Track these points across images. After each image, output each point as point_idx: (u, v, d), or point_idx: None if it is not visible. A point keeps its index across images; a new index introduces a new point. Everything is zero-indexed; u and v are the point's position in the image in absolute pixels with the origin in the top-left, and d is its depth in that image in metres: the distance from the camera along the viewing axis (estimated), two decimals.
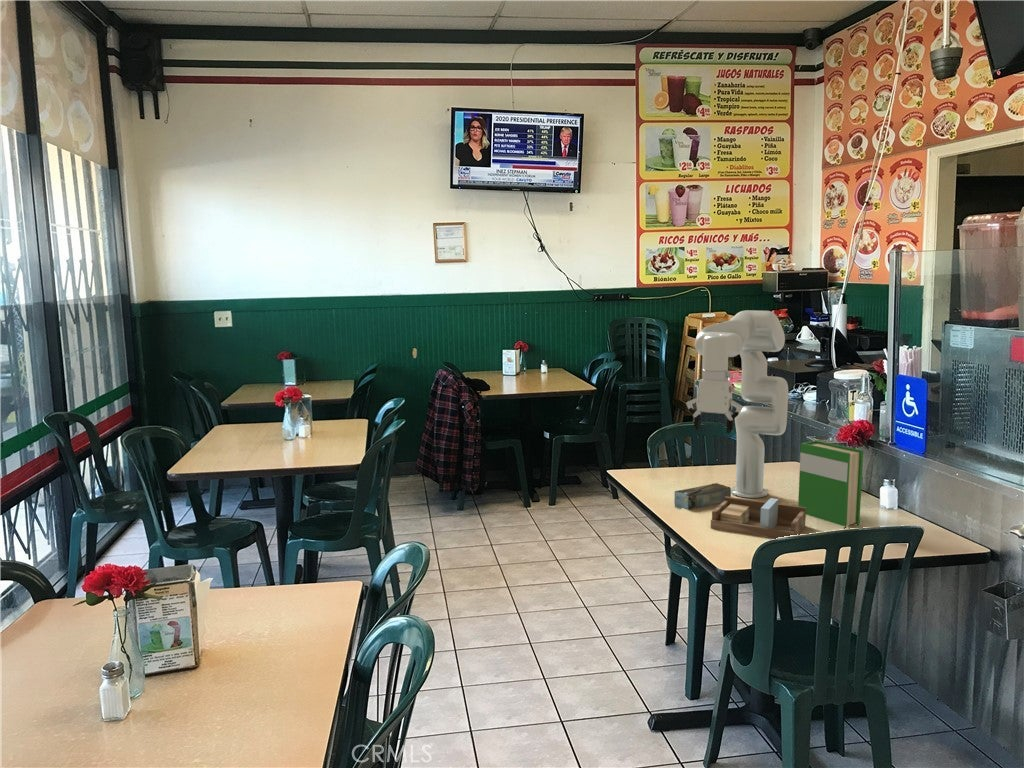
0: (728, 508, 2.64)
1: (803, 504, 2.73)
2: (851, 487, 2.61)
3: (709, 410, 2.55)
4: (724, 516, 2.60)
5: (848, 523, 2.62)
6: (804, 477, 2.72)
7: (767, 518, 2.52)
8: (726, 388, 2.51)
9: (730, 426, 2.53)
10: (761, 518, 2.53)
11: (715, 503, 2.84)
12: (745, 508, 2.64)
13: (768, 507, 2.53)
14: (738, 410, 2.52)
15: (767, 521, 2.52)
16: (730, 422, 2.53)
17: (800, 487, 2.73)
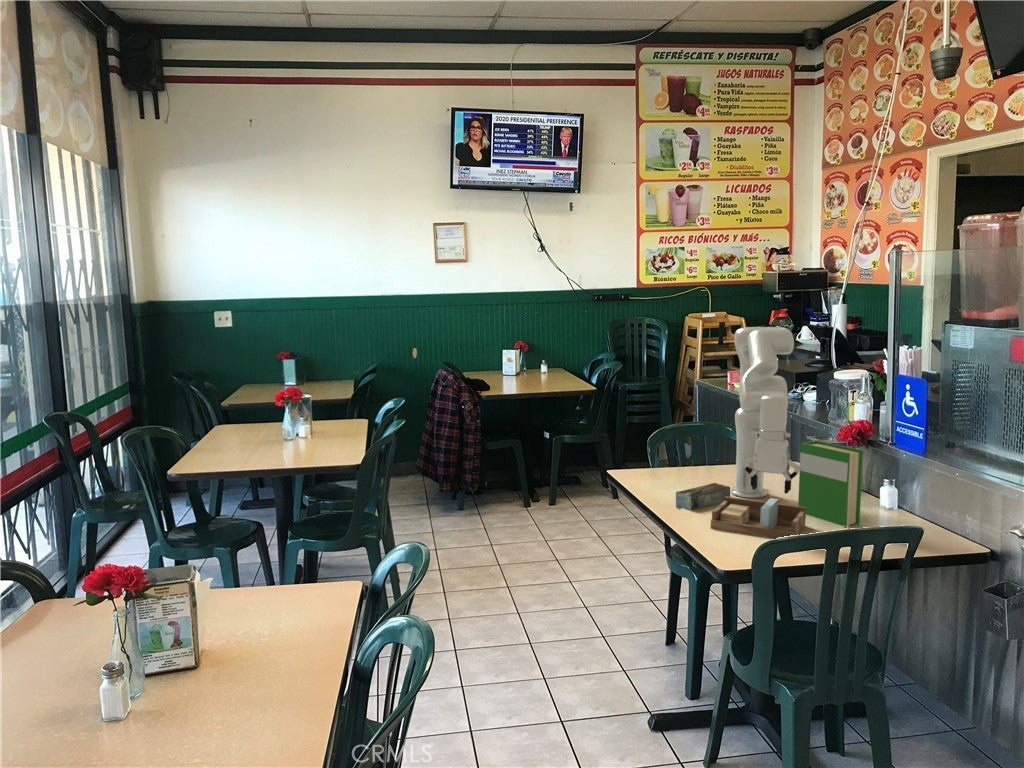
0: (728, 508, 2.64)
1: (803, 504, 2.73)
2: (851, 487, 2.61)
3: (767, 470, 2.54)
4: (724, 516, 2.60)
5: (848, 523, 2.62)
6: (803, 477, 2.72)
7: (767, 518, 2.52)
8: (784, 448, 2.51)
9: (788, 486, 2.53)
10: (761, 518, 2.53)
11: (716, 503, 2.84)
12: (745, 508, 2.64)
13: (768, 507, 2.53)
14: (796, 470, 2.51)
15: (767, 521, 2.52)
16: (788, 482, 2.52)
17: (800, 487, 2.73)
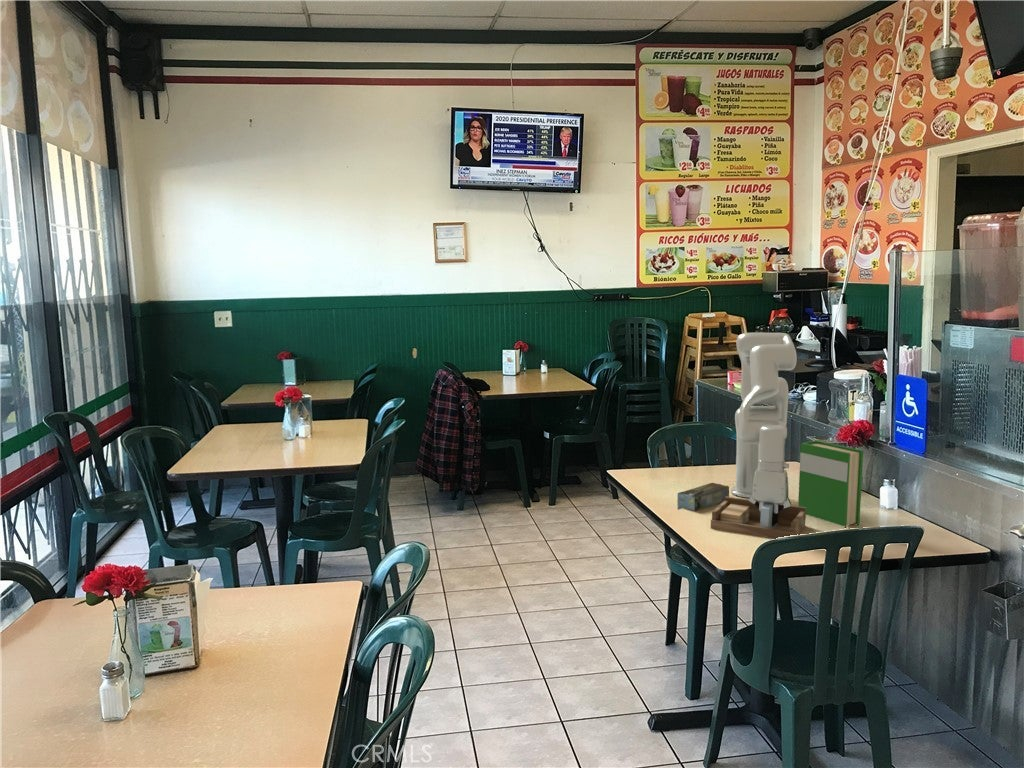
0: (728, 508, 2.64)
1: (803, 504, 2.73)
2: (851, 487, 2.61)
3: (765, 500, 2.56)
4: (724, 516, 2.60)
5: (848, 523, 2.62)
6: (804, 477, 2.72)
7: (767, 518, 2.52)
8: (783, 479, 2.52)
9: (775, 519, 2.56)
10: (761, 518, 2.53)
11: (716, 503, 2.84)
12: (745, 508, 2.64)
13: (768, 507, 2.53)
14: (785, 505, 2.54)
15: (767, 521, 2.52)
16: (775, 515, 2.56)
17: (800, 487, 2.73)
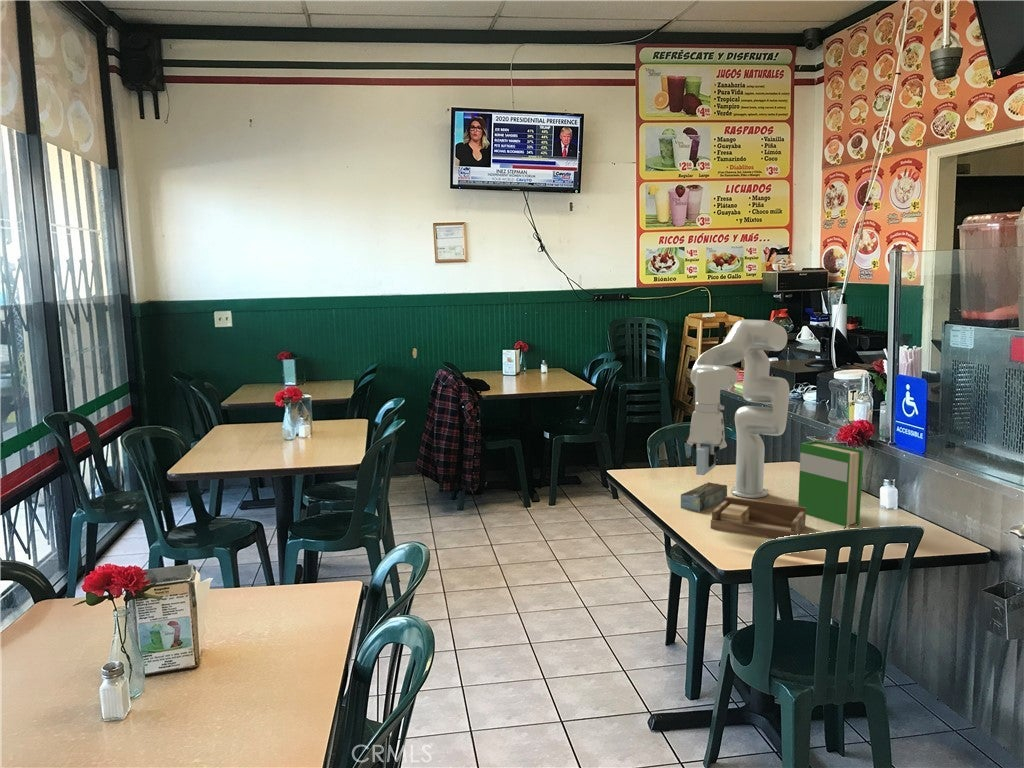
0: (728, 508, 2.64)
1: (803, 504, 2.73)
2: (851, 487, 2.61)
3: (702, 441, 2.62)
4: (724, 516, 2.60)
5: (848, 523, 2.62)
6: (803, 477, 2.72)
7: (703, 459, 2.59)
8: (718, 420, 2.59)
9: (712, 460, 2.63)
10: (697, 459, 2.60)
11: (717, 502, 2.85)
12: (745, 508, 2.64)
13: (704, 448, 2.60)
14: (721, 446, 2.61)
15: (703, 462, 2.59)
16: (712, 456, 2.63)
17: (800, 487, 2.73)
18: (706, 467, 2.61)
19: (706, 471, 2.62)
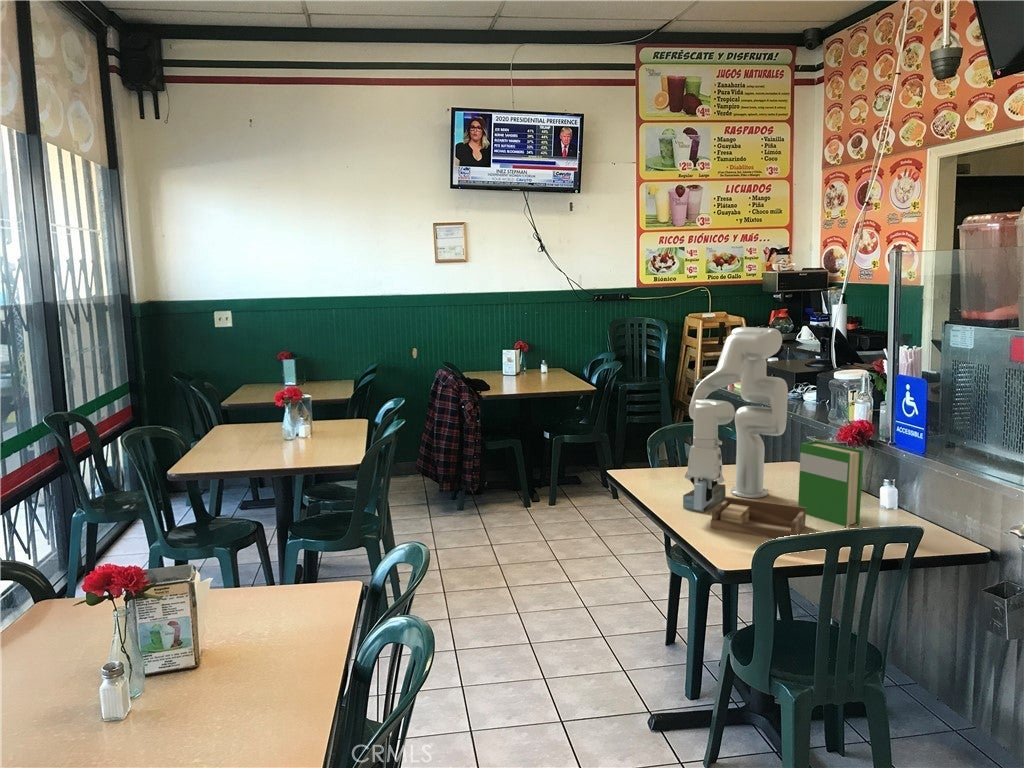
0: (728, 508, 2.64)
1: (803, 504, 2.73)
2: (851, 487, 2.61)
3: (700, 476, 2.64)
4: (724, 516, 2.60)
5: (848, 523, 2.62)
6: (804, 477, 2.72)
7: (700, 494, 2.61)
8: (716, 455, 2.61)
9: (709, 494, 2.65)
10: (695, 494, 2.62)
11: (718, 502, 2.85)
12: (745, 508, 2.64)
13: (701, 483, 2.62)
14: (718, 481, 2.63)
15: (700, 497, 2.61)
16: (709, 490, 2.65)
17: (800, 487, 2.73)
18: (703, 502, 2.63)
19: (703, 506, 2.63)
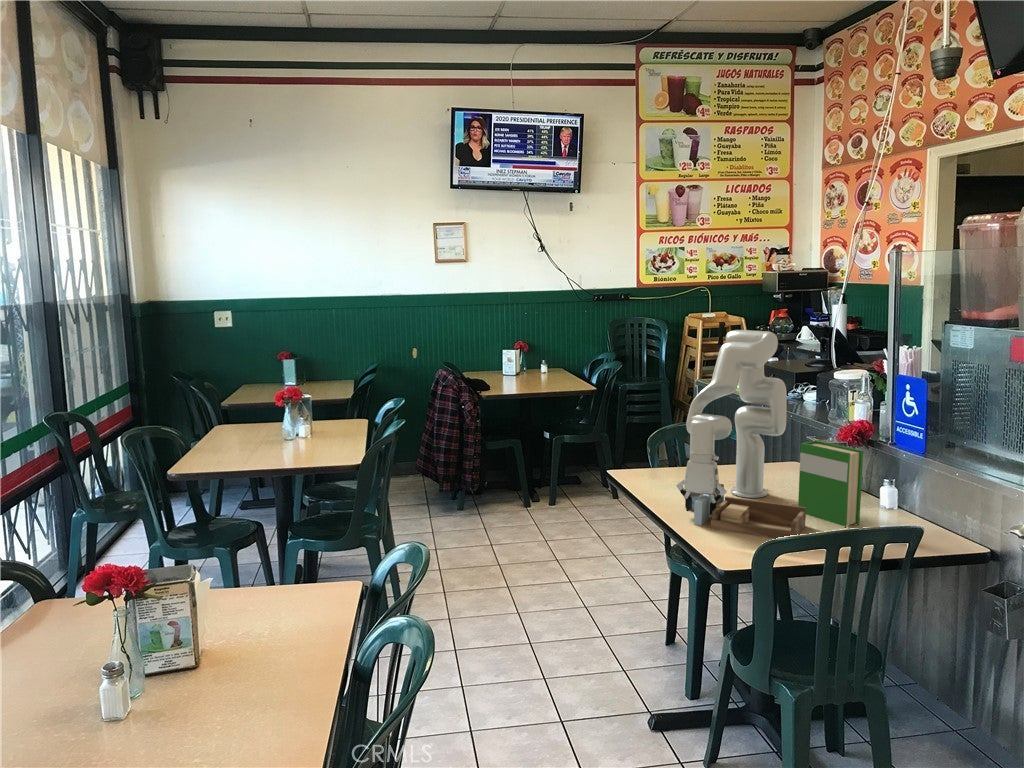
0: (728, 508, 2.64)
1: (803, 504, 2.73)
2: (851, 487, 2.61)
3: (696, 491, 2.66)
4: (724, 516, 2.60)
5: (848, 523, 2.62)
6: (803, 477, 2.72)
7: (700, 511, 2.62)
8: (712, 471, 2.62)
9: (713, 508, 2.65)
10: (695, 511, 2.63)
11: (718, 502, 2.85)
12: (745, 508, 2.64)
13: (701, 500, 2.63)
14: (721, 494, 2.63)
15: (700, 514, 2.62)
16: (713, 504, 2.65)
17: (800, 487, 2.73)
18: (704, 519, 2.64)
19: None
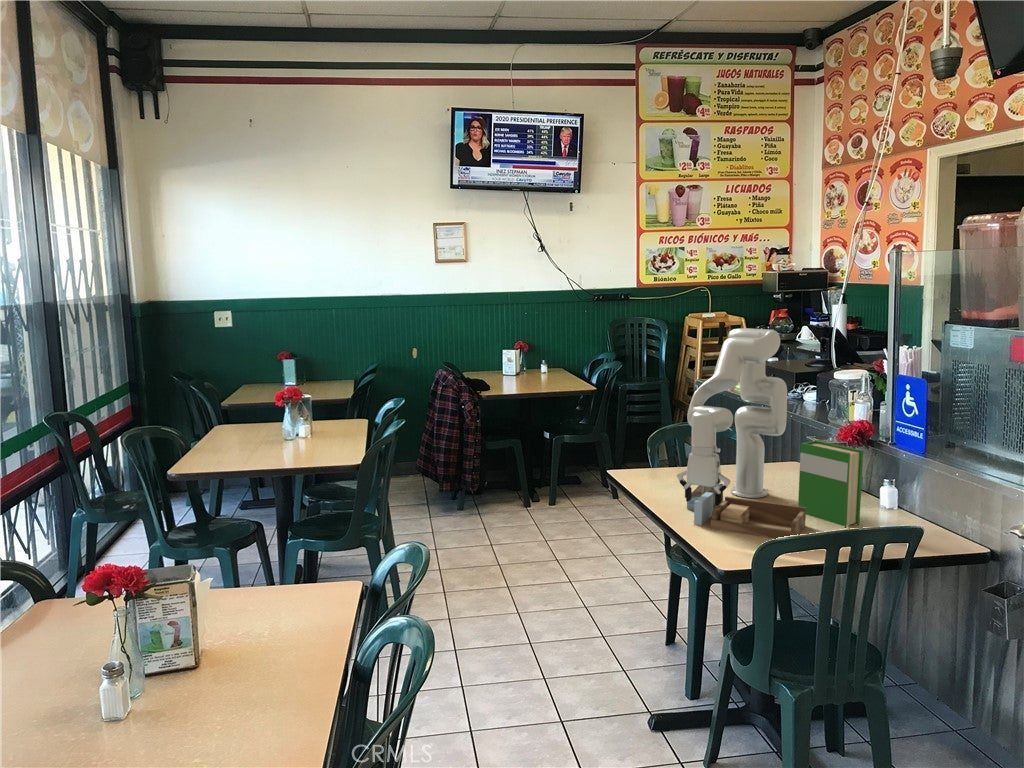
0: (728, 508, 2.64)
1: (803, 504, 2.73)
2: (851, 487, 2.61)
3: (698, 483, 2.66)
4: (724, 516, 2.60)
5: (848, 523, 2.62)
6: (804, 477, 2.72)
7: (700, 511, 2.62)
8: (714, 463, 2.62)
9: (718, 499, 2.64)
10: (695, 511, 2.63)
11: None
12: (745, 508, 2.64)
13: (701, 500, 2.63)
14: (726, 484, 2.62)
15: (700, 514, 2.62)
16: (718, 495, 2.64)
17: (800, 487, 2.73)
18: (704, 519, 2.64)
19: None
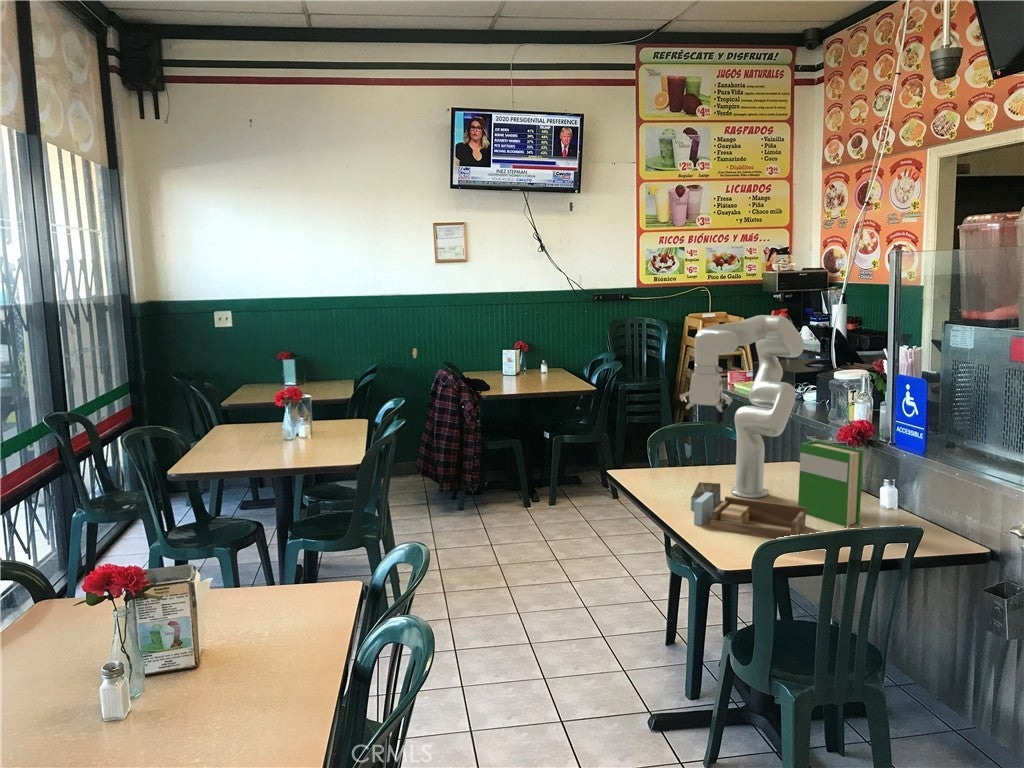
0: (728, 508, 2.64)
1: (803, 504, 2.73)
2: (851, 487, 2.61)
3: (701, 402, 2.73)
4: (724, 516, 2.60)
5: (848, 523, 2.62)
6: (803, 477, 2.72)
7: (700, 511, 2.62)
8: (716, 382, 2.70)
9: (720, 417, 2.72)
10: (695, 511, 2.63)
11: (718, 501, 2.86)
12: (745, 508, 2.64)
13: (701, 500, 2.63)
14: (728, 402, 2.70)
15: (700, 514, 2.62)
16: (720, 413, 2.72)
17: (800, 487, 2.73)
18: (704, 519, 2.64)
19: None
